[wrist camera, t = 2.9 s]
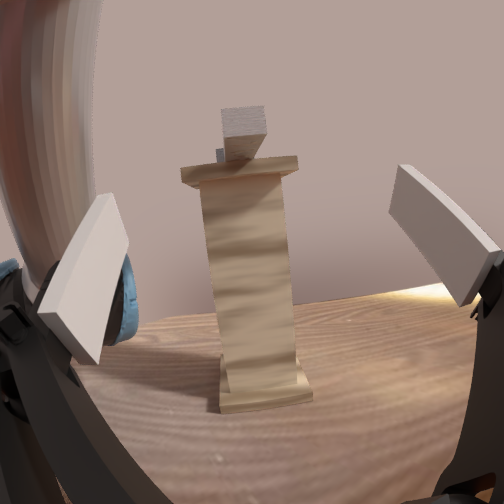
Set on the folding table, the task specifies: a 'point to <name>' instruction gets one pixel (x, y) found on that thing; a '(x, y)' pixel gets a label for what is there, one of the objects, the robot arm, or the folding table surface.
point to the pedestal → (251, 281)
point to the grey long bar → (241, 133)
